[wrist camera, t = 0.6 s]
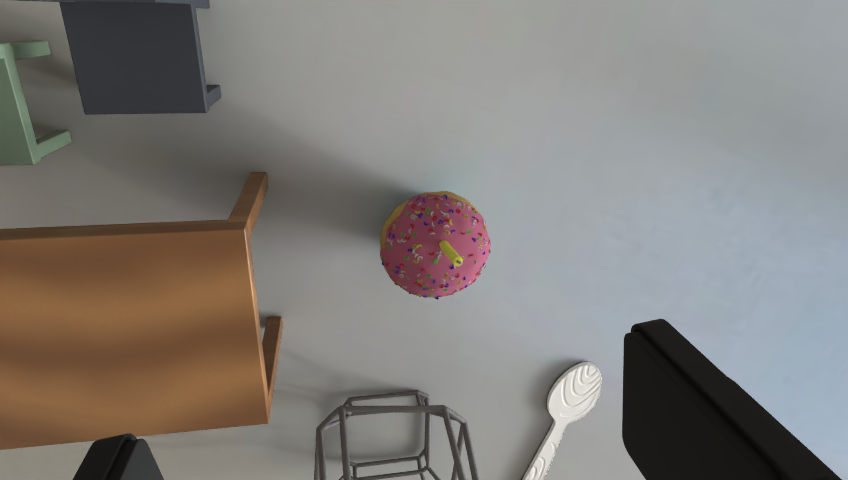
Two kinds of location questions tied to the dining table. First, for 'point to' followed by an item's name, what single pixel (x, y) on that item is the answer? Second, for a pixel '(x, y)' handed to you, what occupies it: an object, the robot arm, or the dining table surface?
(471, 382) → the dining table surface
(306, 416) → the dining table surface
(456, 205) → the cupcake
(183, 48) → the charcoal chair
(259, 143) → the dining table surface
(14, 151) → the sage chair
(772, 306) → the dining table surface
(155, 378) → the oak table
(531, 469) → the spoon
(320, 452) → the geometric lantern
